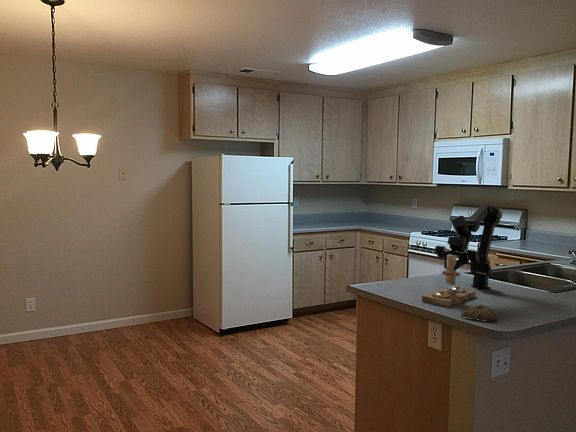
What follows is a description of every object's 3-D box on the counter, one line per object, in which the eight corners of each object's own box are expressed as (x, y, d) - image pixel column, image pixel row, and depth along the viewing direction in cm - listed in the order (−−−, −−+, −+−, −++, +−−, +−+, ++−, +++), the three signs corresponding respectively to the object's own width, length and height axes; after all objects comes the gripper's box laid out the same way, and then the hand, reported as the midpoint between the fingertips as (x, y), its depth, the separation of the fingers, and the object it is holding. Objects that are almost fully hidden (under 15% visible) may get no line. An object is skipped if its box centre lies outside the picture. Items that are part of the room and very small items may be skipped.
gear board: (449, 291, 232) (450, 286, 232) (475, 296, 224) (475, 291, 224) (421, 301, 213) (422, 295, 213) (448, 307, 205) (448, 301, 205)
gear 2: (452, 287, 229) (453, 283, 229) (469, 290, 224) (469, 286, 224) (444, 290, 224) (444, 285, 223) (461, 293, 218) (462, 289, 218)
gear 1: (437, 292, 218) (437, 288, 218) (454, 296, 213) (454, 291, 213) (428, 295, 213) (428, 291, 213) (445, 299, 207) (446, 294, 207)
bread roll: (494, 324, 184) (495, 311, 184) (459, 319, 190) (460, 306, 190) (498, 316, 195) (499, 303, 195) (465, 311, 201) (466, 299, 201)
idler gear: (457, 282, 221) (458, 254, 220) (460, 286, 214) (462, 257, 213) (440, 281, 222) (442, 253, 221) (442, 285, 215) (444, 256, 214)
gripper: (437, 227, 225) (424, 254, 218) (478, 232, 212) (465, 260, 205) (444, 243, 231) (431, 270, 224) (484, 248, 218) (472, 277, 212)
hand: (449, 269), depth 216 cm, fingers closed on idler gear, 4 cm apart
